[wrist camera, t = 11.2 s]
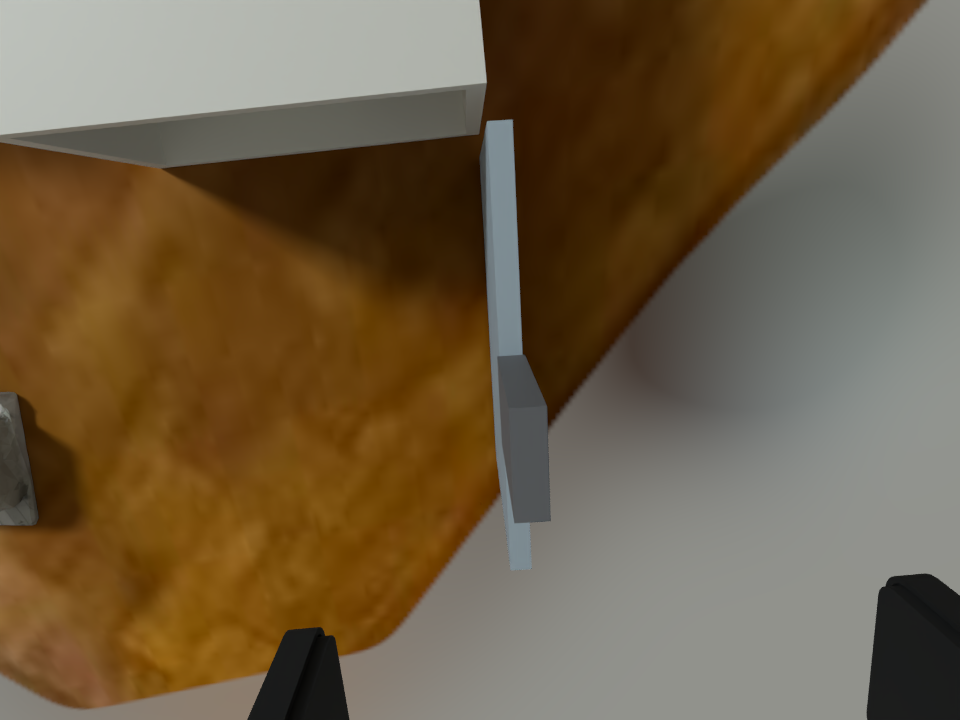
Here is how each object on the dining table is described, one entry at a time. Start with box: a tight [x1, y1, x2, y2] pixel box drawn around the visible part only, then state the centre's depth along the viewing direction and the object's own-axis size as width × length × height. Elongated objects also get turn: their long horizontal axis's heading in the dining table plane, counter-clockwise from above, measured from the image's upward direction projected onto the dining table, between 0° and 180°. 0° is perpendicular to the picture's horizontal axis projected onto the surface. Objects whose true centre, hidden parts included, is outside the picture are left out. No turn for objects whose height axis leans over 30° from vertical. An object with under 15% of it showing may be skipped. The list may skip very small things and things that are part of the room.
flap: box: [479, 120, 551, 570], centre depth 28 cm, size 20×1×21 cm, turn 3°
